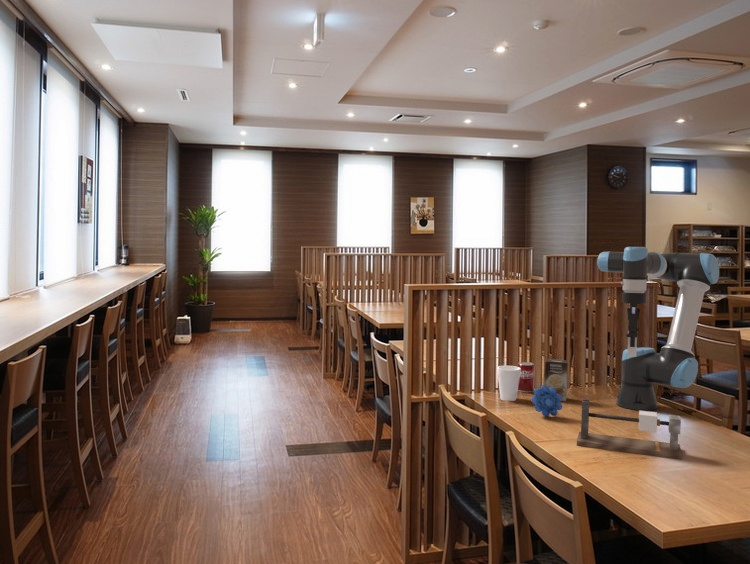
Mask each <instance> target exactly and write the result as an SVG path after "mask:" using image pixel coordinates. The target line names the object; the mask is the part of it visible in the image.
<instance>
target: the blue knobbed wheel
mask: <svg viewBox="0 0 750 564" xmlns="http://www.w3.org/2000/svg"><path fill="white" fill-rule="evenodd" d="M556 392H557V391H556V389H555V388H554V387H550V388H549V389H548V387H547V386H546V385H544V384H541V386H540V388H538V387H537V388H534V391H533V394H534V395H533V396H531V398H530V400H531V403H532V404H535V405H534V407H533V408H534V410H535V411H536V412H538V413H540V412H541V415H542V416H544V417H547V418H548V417H549V416H550V415H551V416H554V417H555V416H558V413H559V412H558V411H561V410H562V409H563V404H562V403H561V402H562V401H561V400H562V397H561V395H560V394H556Z"/></svg>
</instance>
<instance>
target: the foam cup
mask: <svg viewBox="0 0 750 564" xmlns="http://www.w3.org/2000/svg"><path fill="white" fill-rule="evenodd" d="M496 369H497V370H496V371H497V372H496V373H497V380H498V387H499V396H500V400H502V401H506V402H514V401H516V400H517V396H518V392H519V391H518V385H519V378H520V374H521V368H519V367H517V366H515V365H498V366H497V368H496Z"/></svg>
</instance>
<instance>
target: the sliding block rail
mask: <svg viewBox="0 0 750 564" xmlns="http://www.w3.org/2000/svg"><path fill="white" fill-rule="evenodd" d="M590 417H591V418H599V419H608V420H614V421H623V422H624V421H625V422H633V423H639V417H629V416H621V415H612V414H602V413H594V412H590V399H588V398H582V400H581V419H580V421H581V423H580V424H581V426H580V429H581V430H580V431H579V432H578V436H577V439H576V446H580V447H585V446H588V447H587V448H593V447H594V448H595V449H600V448H601V450H602V449H603V450H611V451H617V452H624V453H630V454H639V455H646V456H655V457H662V458H669V459H675V460H677V459H678V460H683V452H682V449H681V444H679V435H681V428H682V427H681V426H682V425H681V423H682V419H681V416H680V415H673V414H668V421H666V420H664V421H663V420H661V419H660V418H659V419H658V418H657V426H658V427H660V426H668V433H669V442H664V441H658V440H648V439H647V440H646V439H640V438H631V437H624V436H617V435H606V434H601V433H600V434H599V433H593V432H589V427H590V426H589V422H590ZM594 448H593V449H594Z"/></svg>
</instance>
